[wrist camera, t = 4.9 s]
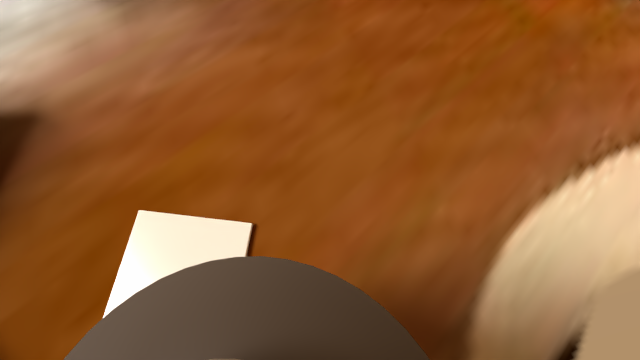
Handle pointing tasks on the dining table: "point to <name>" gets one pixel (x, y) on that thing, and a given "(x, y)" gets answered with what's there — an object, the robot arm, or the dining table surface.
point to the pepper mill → (248, 318)
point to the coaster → (174, 249)
